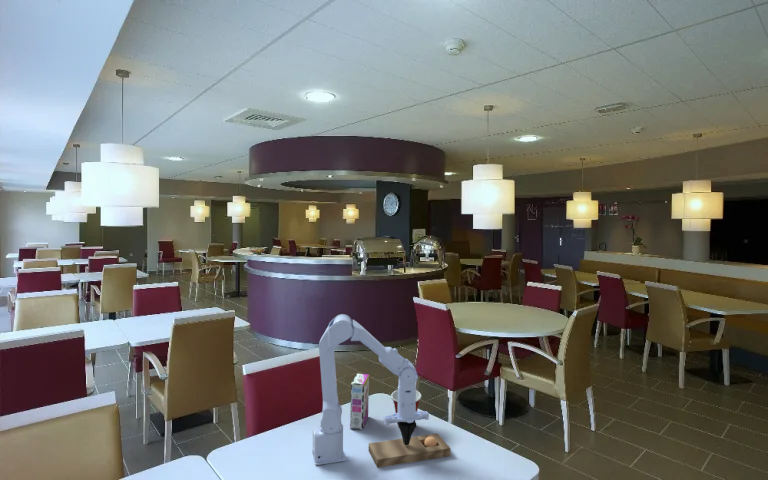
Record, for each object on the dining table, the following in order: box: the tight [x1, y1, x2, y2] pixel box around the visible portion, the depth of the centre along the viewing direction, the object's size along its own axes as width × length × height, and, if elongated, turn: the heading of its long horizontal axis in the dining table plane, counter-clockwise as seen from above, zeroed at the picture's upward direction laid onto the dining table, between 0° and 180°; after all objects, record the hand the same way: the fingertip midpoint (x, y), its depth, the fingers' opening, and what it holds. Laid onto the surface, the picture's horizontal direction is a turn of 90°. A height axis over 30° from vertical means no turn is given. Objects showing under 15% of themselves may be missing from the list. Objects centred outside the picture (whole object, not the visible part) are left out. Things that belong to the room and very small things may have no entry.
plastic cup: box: [390, 389, 422, 428], centre depth 155 cm, size 11×11×12 cm
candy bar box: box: [349, 373, 370, 431], centre depth 159 cm, size 11×5×16 cm, turn 172°
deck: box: [368, 433, 451, 469], centre depth 138 cm, size 24×10×2 cm, turn 107°
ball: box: [424, 437, 437, 447], centre depth 140 cm, size 4×4×4 cm
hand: (406, 443), depth 137 cm, fingers closed
